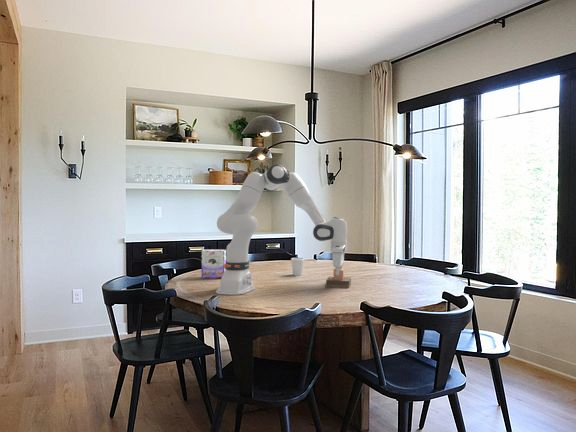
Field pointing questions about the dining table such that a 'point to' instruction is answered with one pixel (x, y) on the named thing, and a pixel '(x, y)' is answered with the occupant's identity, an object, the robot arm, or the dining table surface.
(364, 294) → the dining table surface
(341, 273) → the terracotta cube
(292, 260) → the dixie cup
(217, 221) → the robot arm
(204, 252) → the candy box
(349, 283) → the walnut block
